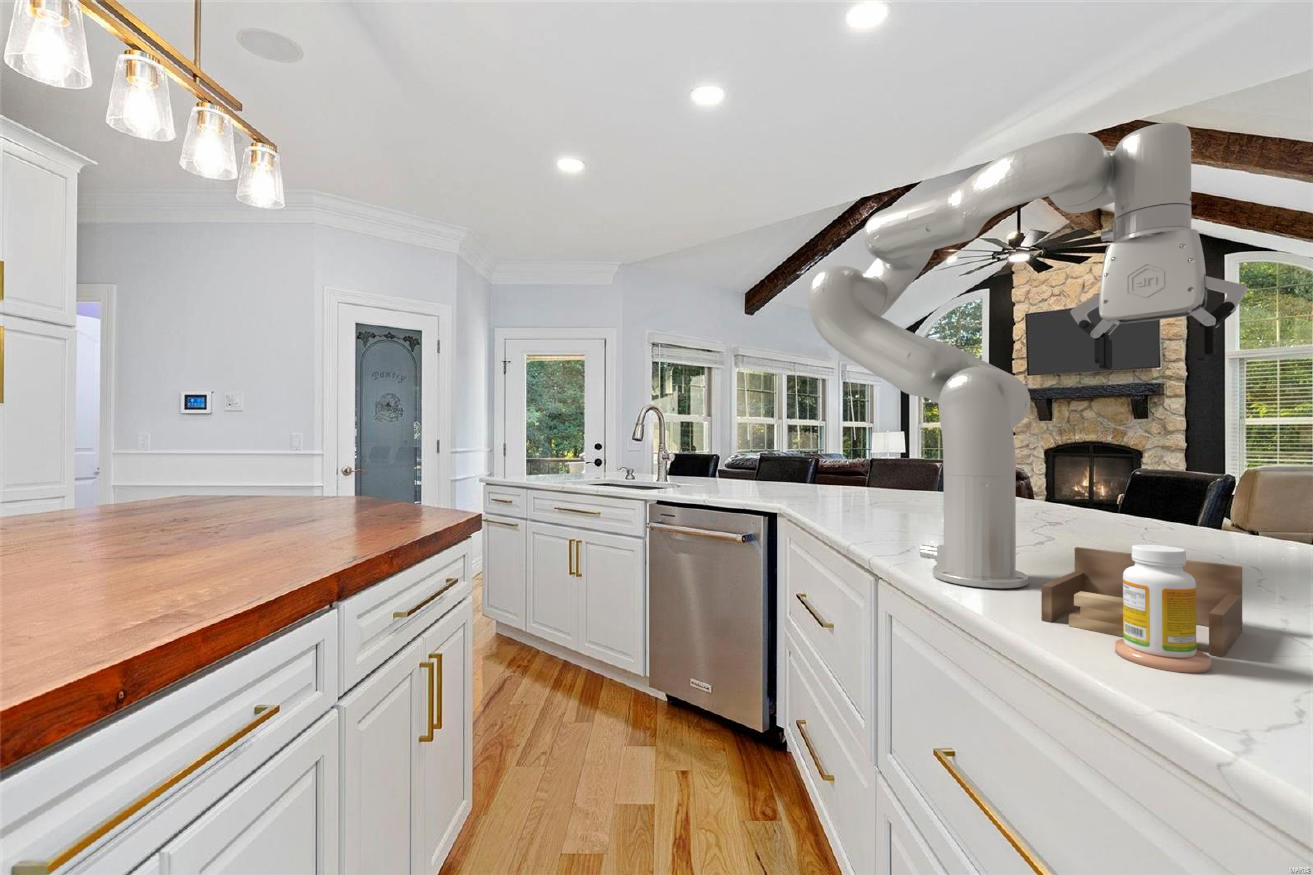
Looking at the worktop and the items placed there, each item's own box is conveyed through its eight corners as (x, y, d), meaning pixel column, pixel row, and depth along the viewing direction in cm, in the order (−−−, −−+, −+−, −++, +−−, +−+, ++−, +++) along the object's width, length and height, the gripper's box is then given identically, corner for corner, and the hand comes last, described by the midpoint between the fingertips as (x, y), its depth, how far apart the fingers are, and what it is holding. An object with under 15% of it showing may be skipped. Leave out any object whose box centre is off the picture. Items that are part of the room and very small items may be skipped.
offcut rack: (1041, 620, 70) (1041, 559, 70) (1077, 601, 78) (1077, 547, 78) (1223, 657, 58) (1222, 584, 58) (1242, 630, 66) (1242, 566, 66)
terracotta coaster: (1106, 657, 58) (1106, 648, 58) (1125, 641, 62) (1125, 633, 62) (1203, 679, 53) (1203, 670, 53) (1217, 660, 57) (1217, 652, 57)
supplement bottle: (1198, 649, 58) (1198, 547, 58) (1194, 664, 54) (1194, 555, 54) (1127, 636, 62) (1127, 541, 62) (1118, 649, 58) (1118, 547, 58)
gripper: (1062, 240, 81) (1062, 369, 80) (1242, 201, 67) (1242, 355, 67) (1080, 252, 85) (1080, 373, 85) (1251, 217, 72) (1251, 361, 72)
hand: (1151, 365), depth 76 cm, fingers open, 9 cm apart
